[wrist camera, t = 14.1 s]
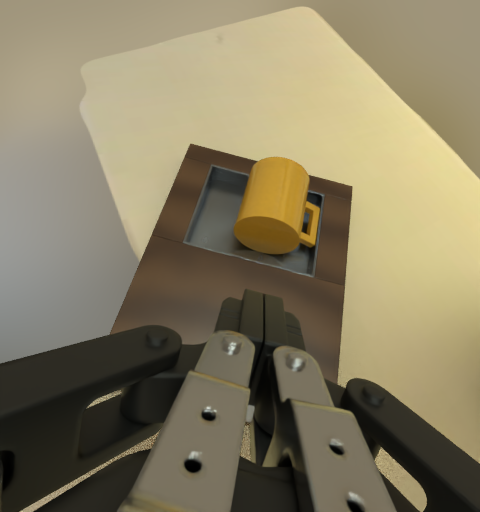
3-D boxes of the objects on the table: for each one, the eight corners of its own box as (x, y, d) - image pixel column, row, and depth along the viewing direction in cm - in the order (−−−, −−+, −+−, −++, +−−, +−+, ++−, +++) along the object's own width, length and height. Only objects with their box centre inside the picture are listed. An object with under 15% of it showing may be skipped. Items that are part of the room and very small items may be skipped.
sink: (307, 286, 38) (314, 277, 36) (183, 253, 38) (182, 242, 36) (318, 205, 43) (325, 194, 41) (210, 177, 43) (211, 164, 41)
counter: (322, 442, 31) (332, 444, 28) (97, 384, 30) (89, 381, 28) (344, 198, 45) (352, 186, 42) (190, 157, 44) (190, 143, 42)
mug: (252, 206, 31) (268, 146, 35) (223, 236, 38) (239, 182, 41) (332, 246, 34) (339, 187, 38) (292, 268, 40) (301, 215, 44)
